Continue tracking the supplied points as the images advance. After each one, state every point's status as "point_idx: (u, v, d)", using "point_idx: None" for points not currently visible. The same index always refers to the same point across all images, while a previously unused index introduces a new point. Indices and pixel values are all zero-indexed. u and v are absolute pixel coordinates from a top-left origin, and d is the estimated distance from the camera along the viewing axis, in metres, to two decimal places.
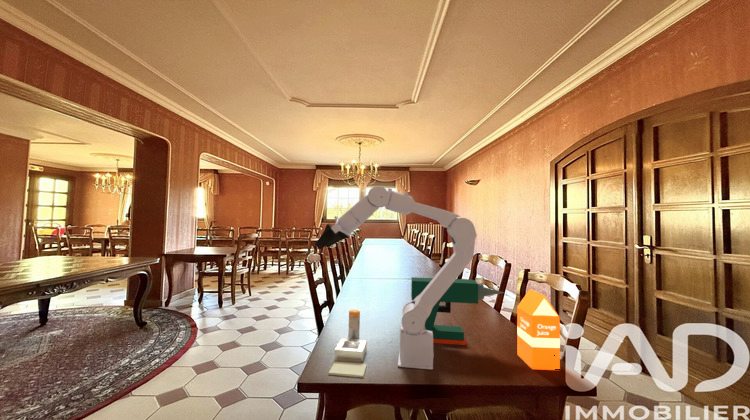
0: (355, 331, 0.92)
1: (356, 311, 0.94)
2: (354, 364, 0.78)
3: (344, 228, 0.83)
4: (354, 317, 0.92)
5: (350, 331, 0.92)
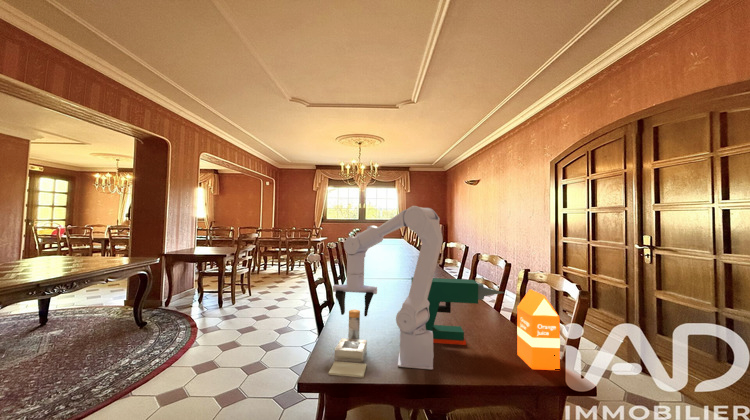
0: (355, 331, 0.92)
1: (356, 311, 0.94)
2: (354, 364, 0.78)
3: (346, 286, 0.94)
4: (354, 317, 0.92)
5: (350, 331, 0.92)
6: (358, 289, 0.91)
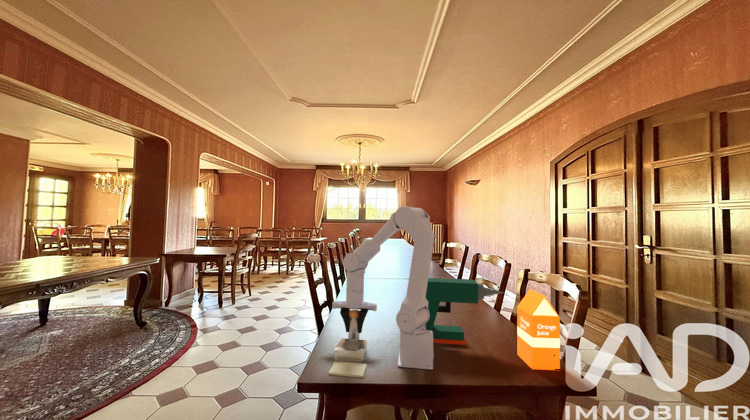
0: (355, 331, 0.92)
1: (356, 311, 0.94)
2: (354, 364, 0.78)
3: (345, 303, 0.93)
4: (354, 317, 0.92)
5: (350, 331, 0.92)
6: (358, 306, 0.91)
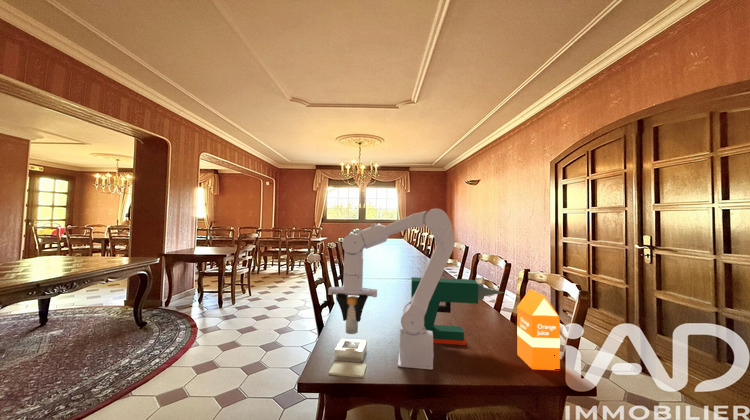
0: (353, 320, 0.83)
1: (354, 297, 0.85)
2: (354, 364, 0.78)
3: (343, 288, 0.85)
4: (352, 304, 0.83)
5: (348, 319, 0.83)
6: (356, 292, 0.82)
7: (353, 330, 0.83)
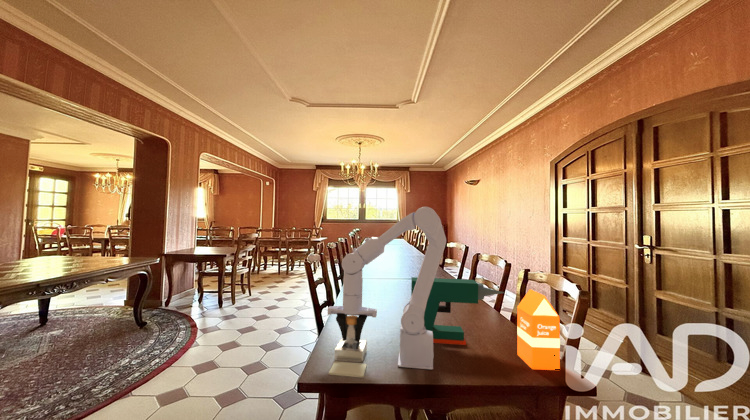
0: (353, 340, 0.83)
1: (354, 317, 0.85)
2: (354, 364, 0.78)
3: (342, 308, 0.84)
4: (352, 324, 0.83)
5: (347, 339, 0.83)
6: (356, 312, 0.82)
7: None
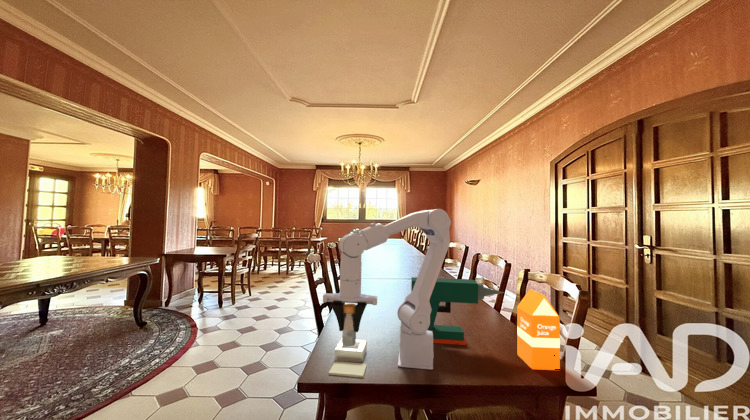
0: (351, 330, 0.75)
1: (352, 305, 0.76)
2: (354, 364, 0.78)
3: (339, 295, 0.76)
4: (349, 312, 0.75)
5: (344, 330, 0.75)
6: (354, 299, 0.74)
7: (351, 342, 0.74)
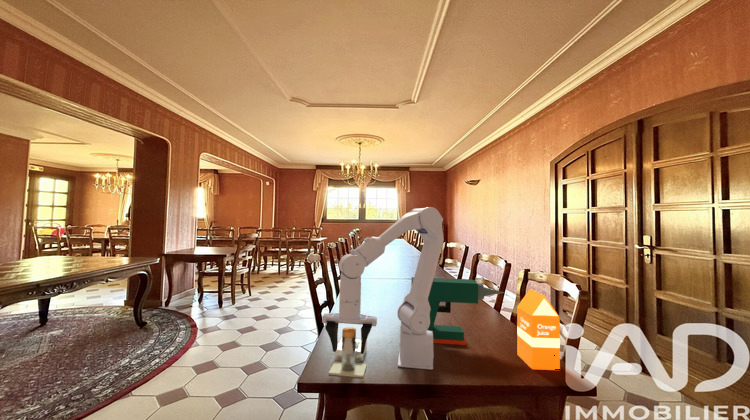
0: (350, 355, 0.74)
1: (351, 329, 0.76)
2: None
3: (338, 316, 0.76)
4: (349, 337, 0.75)
5: (344, 354, 0.75)
6: (353, 321, 0.74)
7: (350, 367, 0.74)
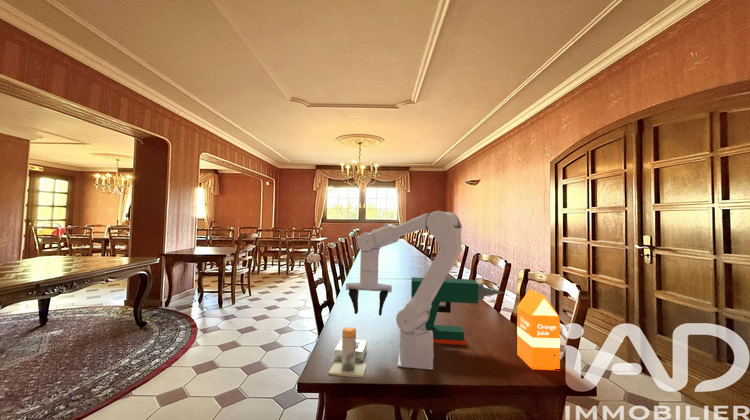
0: (350, 355, 0.74)
1: (351, 330, 0.76)
2: None
3: (359, 284, 0.90)
4: (349, 337, 0.74)
5: (344, 355, 0.75)
6: (372, 287, 0.88)
7: (350, 367, 0.74)
